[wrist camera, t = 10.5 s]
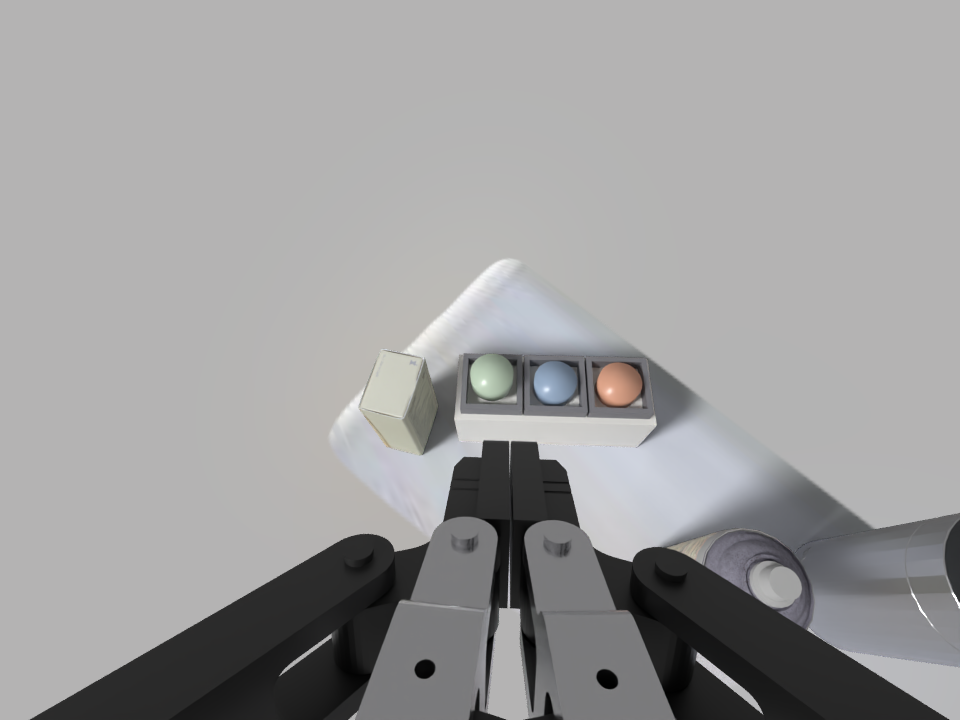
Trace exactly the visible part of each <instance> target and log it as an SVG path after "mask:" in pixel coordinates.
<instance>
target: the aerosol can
mask: <svg viewBox="0 0 960 720" xmlns="http://www.w3.org/2000/svg"><path fill="white" fill-rule="evenodd" d="M667 548H668V549H673V550H676V551H679V552H681V553H683V554H686V555H687V556H689V557H691V558H693V559H694V560H696V561H697V562H699V563H700V564H702V565H704V566H705V567H707V568H708V569H710V570H712V571H713V572H715V573H716V574H718V575H720V576H721V577H723V578H724V579H726V580H728V581H729V582H731V583H732V584H734V585H736V586H737V587H739V588H740V589H742V590H743V591H745V592H747V593H748V594H750V595H751V596H753V597H755V598H756V599H758V600H759V601H761V602H763V603H764V604H766V605H767V606H769V607H771V608H772V609H774V610H775V611H777V612H779V613H780V614H782V615H783V616H785V617H786V618H788V619H790V620H791V621H793V622H794V623H796V624H798V625H799V626H801V627H802V628H804V629H806V630H807V629H808V627H809V626H810V624H811V622H812V620H813V614H814V607H815V599H814V593H813V587H812V583H811V581H810V578H809V576H808V574H807V572H806V570H805V568H804V565H803V564H802V563H801V562H800V560H799V559H798V558H797V557H796V555H795V554H794V553H793V552H792V550H791V549H789V548H788V547H787V546H786V545H784V544H783V543H782V542H780V541H779V540H778V539H777V538H775V537H773V536H770V535H768V534H766V533H764V532H761V531H759V530H752V529H744V528H741V529H739V528H732V529H727V530H722V531H718V532H715V533H712V534H709V535H705V536H702V537H699V538H696V539H693V540H689V541H686V542H683V543H680V544H677V545H674V546H670V547H667Z"/></svg>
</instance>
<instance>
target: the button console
mask: <svg viewBox="0 0 960 720" xmlns="http://www.w3.org/2000/svg"><path fill="white" fill-rule="evenodd" d="M483 355H486V354H464V355H459V362H458V376H457V390H456V403H455V417H454V420H455V424H456V429H457V433H458V438H459V442H481V443H483V440H496V441H509V443H511V441H530V442H537V444H543V445H574V446H605V447H636V448H637V447H638V446H639V444H640V443H641V442H642V441H643V440H644V439H645V438H646V437H647V436H648V435H649V434H650V432H651V431H652V430H653V429H654V428H655V427H656V426H657V423H656V416H655V409H654V402H653V395H652V387H651V380H650V373H649V366H648V359H646V358H632V357H590V356H586V358H584V356H547V355H524V356H522V355H504V354H498V355H501V356H503V357H505V358H506V359H507V360H508V361H509V362H510V363H511V365H512V367H513V372H514V374H513V386H512V389H511V391H510V392H509V394H508V395H507V396H506V397H504V398H503V399H500V400H497V401H487V400H484V399H482V398H480V397H478V396H477V395H476V394H475V392H474V391H473V389H472V385H471V376H470V371H471V367H472V365H473V363H474V362H475V360H477V359H478V358H479V357H481V356H483ZM550 361H560V362H563V363H565V364H567V365H569V366H570V367H571V368H572V369H573V370H574V372H575V374H576V376H577V386H576V389H575V392H574V395H573V397H572V399H571V400H570V401H569V402H568V403H567V404H566V405H564V406H545V405H543V404H542V403H540V402H539V401H538V400H537V398H536V397H535V395H534V392H533V383H534V377H535V373H536V371H537V369H538V368H539V367H540V366H541V365H542V364H544V363H546V362H550ZM616 362H619V363H625V364H628V365H630V366H632V367H633V368H634V369H635V370H636V371H637V372H638V373H639V374H640V376H641V379H642V389H641V392H640V393H639V395H638V396H637V398H636V399H635V401H634V402H633V403H632V404H631V405H630V406H629V407H627V408H609V407H607V406H605V405H604V404H602V403H601V402H600V401H599V399H598V398H597V396H596V393H595V383H596V381H597V379H598V377H599V374H600V372H601V371H602V369H603V368H604V367H605V366H607V365H608V364H611V363H616Z"/></svg>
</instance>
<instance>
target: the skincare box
mask: <svg viewBox="0 0 960 720" xmlns="http://www.w3.org/2000/svg"><path fill="white" fill-rule="evenodd" d="M358 408H359V409H360V411H361V412H362V413H363V415H364V416H365V418H366V419H367V420H368V422H369V423H370V425H371V426H372V427H373V429H374V430H375V432H376V433H377V434H378V436H379V437H380V438H381V440H382V441H383V443H384V444H385V445H386V446H387V447H390V448H393V449H397V450H401V451H404V452H408V453H412V454H416V455H422V454H423V452H424V449H425V446H426V443H427V441H428V438H429V434H430V432H431V428H432V425H433V422H434V419H435V416H436V412H437V409H438V403H437V399H436V396H435V392H434V389H433V385H432V382H431V378H430V375H429V372H428V368H427V364H426V361H425V358H423V357H419V356H415V355H411V354H406V353H401V352H396V351H392V350H386V349H381V350H380V353H379V355H378V357H377V359H376V362H375V364H374V367H373V369H372V372H371V374H370V377H369V379H368V382H367V384H366V387H365V390H364V393H363V395H362V398H361V401H360V404H359V407H358Z"/></svg>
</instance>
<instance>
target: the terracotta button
mask: <svg viewBox="0 0 960 720" xmlns="http://www.w3.org/2000/svg"><path fill="white" fill-rule="evenodd" d="M641 389H642V379H641V376H640V374H639V373H638V372H637V371H636V370H635V369H634V368H633V367H632V366H630V365H628V364H625V363H619V362H616V363H611V364H608V365H607V366H605V367H604V368H603V369H602V371H601V372H600V374H599V377H598V379H597V381H596V383H595V393H596V396H597V398H598V399H599V401H600V402H601V403H602V404H604V405H605V406H607V407H609V408H627V407H629V406H630V405H631V404H632V403H633V402H634V401H635V399H636V398H637V396H638V395H639V393H640V392H641Z"/></svg>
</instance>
